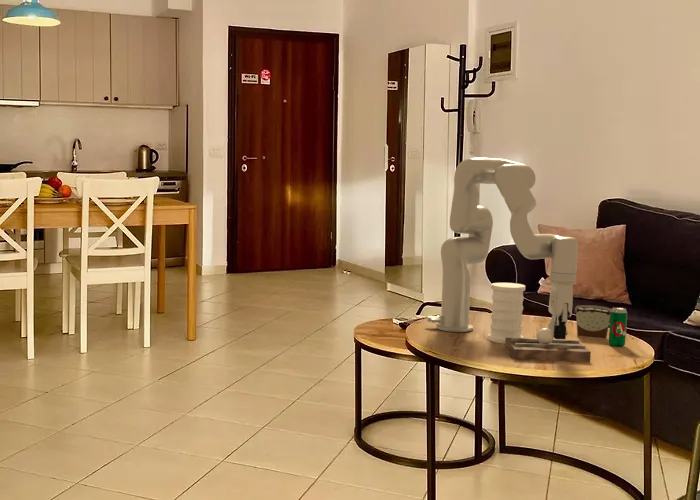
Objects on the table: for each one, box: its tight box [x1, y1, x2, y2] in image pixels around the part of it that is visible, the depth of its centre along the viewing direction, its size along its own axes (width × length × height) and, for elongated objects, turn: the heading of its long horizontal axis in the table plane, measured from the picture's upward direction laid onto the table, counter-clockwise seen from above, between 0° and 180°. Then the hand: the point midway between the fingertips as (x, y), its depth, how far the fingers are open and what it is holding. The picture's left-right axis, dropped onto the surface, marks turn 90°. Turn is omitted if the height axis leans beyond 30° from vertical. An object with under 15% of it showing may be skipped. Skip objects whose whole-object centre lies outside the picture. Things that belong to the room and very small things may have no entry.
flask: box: [547, 315, 568, 334], centre depth 275 cm, size 7×7×10 cm
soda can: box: [608, 307, 628, 348], centre depth 257 cm, size 5×5×12 cm
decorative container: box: [487, 282, 526, 344], centre depth 260 cm, size 12×12×18 cm
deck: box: [504, 337, 592, 363], centre depth 242 cm, size 22×16×4 cm
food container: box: [573, 304, 612, 340], centre depth 271 cm, size 12×6×10 cm, turn 71°
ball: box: [536, 327, 555, 344], centre depth 241 cm, size 5×5×5 cm
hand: (559, 338), depth 241 cm, fingers closed
